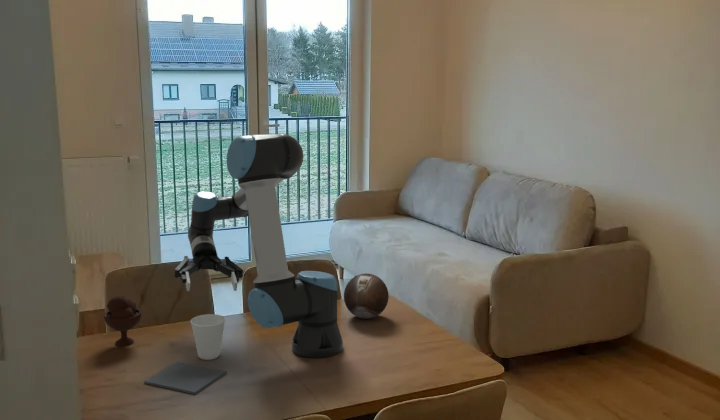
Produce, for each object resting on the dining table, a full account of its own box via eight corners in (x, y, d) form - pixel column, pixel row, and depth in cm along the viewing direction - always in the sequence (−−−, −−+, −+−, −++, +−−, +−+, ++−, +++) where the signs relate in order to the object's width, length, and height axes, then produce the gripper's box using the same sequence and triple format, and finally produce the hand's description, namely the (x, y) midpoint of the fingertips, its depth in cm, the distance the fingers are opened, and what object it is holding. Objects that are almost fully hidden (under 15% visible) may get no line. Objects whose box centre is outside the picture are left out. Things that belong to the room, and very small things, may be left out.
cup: (233, 353, 203) (232, 317, 201) (212, 365, 194) (211, 328, 192) (205, 347, 207) (204, 312, 205) (184, 359, 198) (182, 322, 196)
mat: (226, 373, 189) (225, 371, 189) (195, 394, 177) (195, 392, 176) (177, 363, 195) (177, 361, 195) (144, 383, 183) (144, 381, 182)
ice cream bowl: (136, 350, 204) (134, 301, 202) (99, 349, 205) (96, 300, 202) (148, 336, 215) (146, 290, 212) (112, 336, 215) (109, 289, 212)
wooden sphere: (343, 325, 227) (343, 280, 224) (344, 309, 242) (344, 268, 239) (389, 325, 227) (390, 281, 224) (387, 310, 242) (387, 268, 239)
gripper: (241, 262, 226) (253, 297, 208) (162, 262, 217) (167, 298, 199) (244, 242, 223) (256, 275, 205) (164, 240, 215) (169, 275, 197)
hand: (212, 287), depth 202 cm, fingers open, 13 cm apart
